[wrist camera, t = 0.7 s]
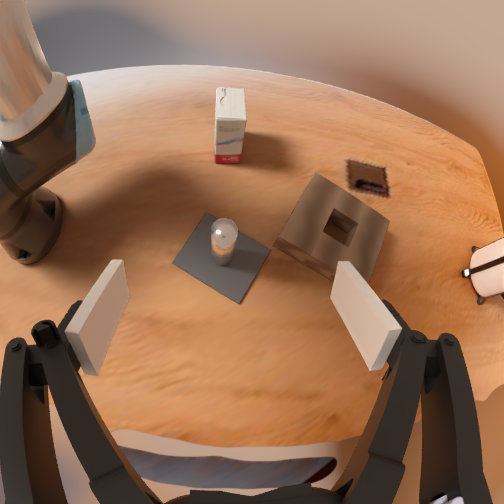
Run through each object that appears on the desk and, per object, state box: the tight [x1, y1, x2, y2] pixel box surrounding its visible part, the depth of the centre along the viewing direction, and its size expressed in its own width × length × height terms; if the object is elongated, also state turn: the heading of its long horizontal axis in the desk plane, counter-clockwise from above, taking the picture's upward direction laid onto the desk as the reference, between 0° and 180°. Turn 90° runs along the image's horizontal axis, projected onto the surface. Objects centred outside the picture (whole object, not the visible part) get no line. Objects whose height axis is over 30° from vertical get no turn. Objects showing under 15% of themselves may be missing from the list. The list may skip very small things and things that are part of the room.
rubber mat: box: [173, 213, 270, 304], centre depth 43 cm, size 12×10×1 cm
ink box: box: [215, 87, 247, 163], centre depth 44 cm, size 9×5×12 cm, turn 3°
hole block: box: [273, 172, 390, 284], centre depth 44 cm, size 16×14×4 cm
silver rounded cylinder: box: [211, 218, 238, 266], centre depth 37 cm, size 3×3×11 cm
